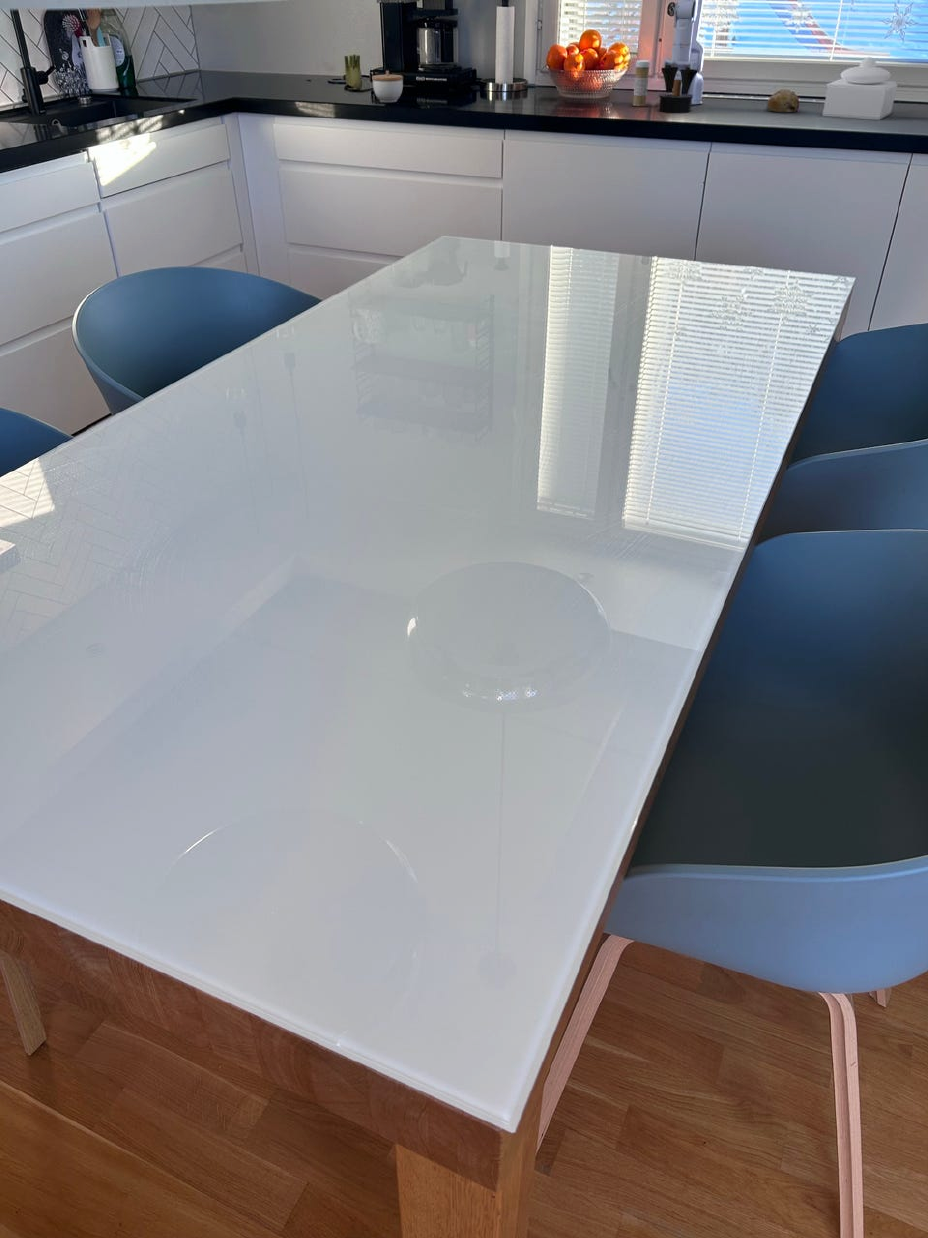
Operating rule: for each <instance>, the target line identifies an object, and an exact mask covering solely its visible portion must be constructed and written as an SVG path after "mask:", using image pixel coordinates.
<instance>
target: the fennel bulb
mask: <svg viewBox="0 0 928 1238" xmlns="http://www.w3.org/2000/svg"><path fill="white" fill-rule="evenodd" d="M344 68H345V69H344V70H345V71H344V72H345V83H346V86H347V85H349V86H351V87H353V88H348V87H347V90H348V91H352V90H359V91H361V90H362V88H361V87H363V75H362V70H361V55H359V54H356V53H353V54H349V56H348V55H344ZM354 88H356V89H354Z"/></svg>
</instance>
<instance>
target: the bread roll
mask: <svg viewBox="0 0 928 1238" xmlns="http://www.w3.org/2000/svg"><path fill="white" fill-rule="evenodd" d="M765 104H767V106H766V109H767V112H770V113H781V114H782V113H783V114H785V113H786V114H787V113H796V112H798V110H799V108H800V99H799V96H798V95H797V94H796V93H795V91H793V90H792V91H791V90H789V89H781V90H778V91H776V92H774V93H773V94H772V95H771V96H770V97H769V99H768V100H767V101H766V102H765Z"/></svg>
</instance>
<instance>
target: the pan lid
mask: <svg viewBox="0 0 928 1238" xmlns="http://www.w3.org/2000/svg"><path fill="white" fill-rule="evenodd" d="M681 86H682V80H681V79H674V85H673V90H672V92H668V93H661V94H659V99H660V98H665V99H691V98H693V95H690V94H681Z"/></svg>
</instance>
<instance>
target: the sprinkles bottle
mask: <svg viewBox="0 0 928 1238" xmlns="http://www.w3.org/2000/svg"><path fill="white" fill-rule="evenodd" d="M650 67H651V60H647V59H639V60H636V61H635V76H634V77H635V78H634V79H635V80H634V87H633V100H632V106H633V107H637V108H639V107H641V108H642V107H646V106H647V96H648V86H649V75H650V74H649V71H650Z"/></svg>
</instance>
